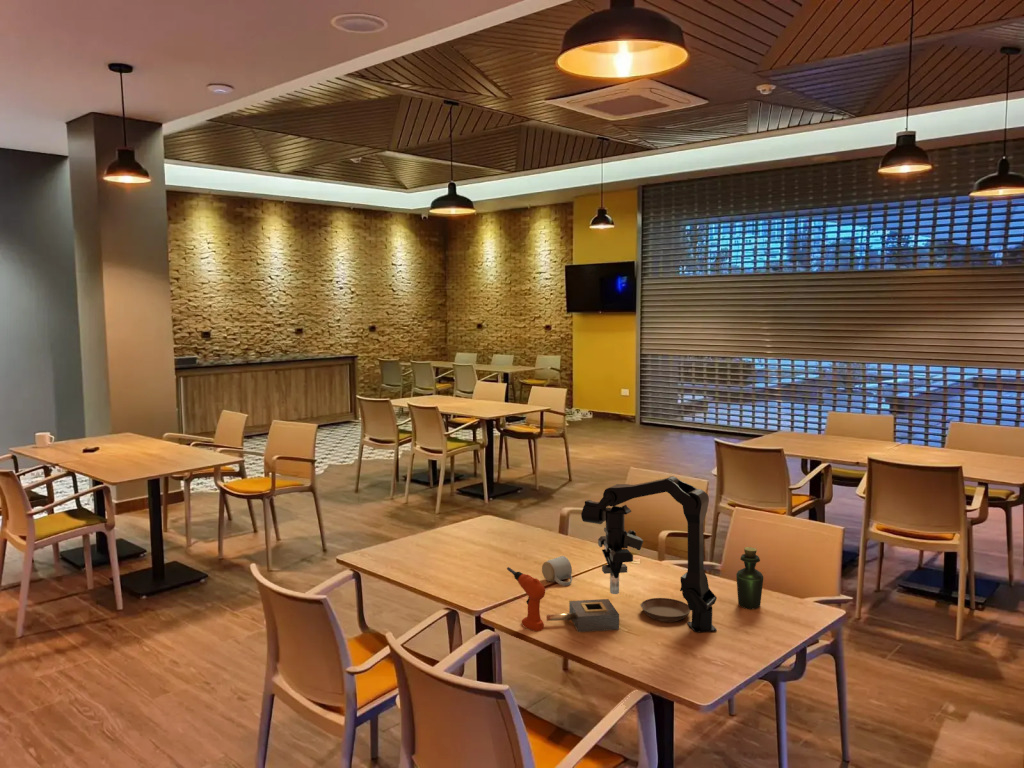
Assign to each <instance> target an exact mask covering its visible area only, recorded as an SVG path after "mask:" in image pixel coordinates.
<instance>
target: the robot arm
mask: <svg viewBox="0 0 1024 768" xmlns="http://www.w3.org/2000/svg"><path fill="white" fill-rule="evenodd" d="M662 493H668V494H669V495H670V496H671V497H672V498H673V499H674V500H675V501H676V502H677V503H679V504H680V505H682V511H683V514H684V518H685V519H686V522H687V572H685V573H684V574H683V575H682V576H680V585H681V586H680V589H679V591H680V592H682V597H683V599H685V601H686V604H687V605H688V606H689V609H690V610H691V621H687V623H686V624H687V625H688V627H690V629H692V630H693V632H695V633H704V632H705V633H706V632H707V633H708V632H717V628H716V627H715V626H714V625H713V605H714V604H715V603H716V601H717V596H716V594H714V592H713V591H712V590H711V588H710V586H709V581H708V576H707V574H706V572H705V569H704V568H705V567H704V566H705V565H704V561H705V557H704V554H705V553H704V552H705V551H704V536H705V535H704V532H705V531H704V530H705V529H704V523H705V518H706V516H707V512H708V507H709V503H710V498H709V495H708V493H706V491H704V489H700V488H697V487H694V486H693V485H691V484H689V483H688V482H684V481H682V480H680V479H679V478H677V477H675V476H669V477H666V478H662V479H660V478H659V479H658V480H657V479H656V480H651V481H646V482H642V483H638V484H636V483H635V484H629V483H622V484H621V483H620V484H615V485H612V486H609V487H607V488H605V489H604V491H603V493H602V498H601V499H600V501H593V500H592V499H591V500H590V499H587V500H585V501H584V505H583V507H582V511H581V515H580V516H581V520H582V522H584V523H589V524H597V525H602V524H603V523H604V522H605V527H604V528H603V532H604V533H605V535H602V536H599V538H598V539H597V545H598V546H599V548H602V547H603V546H604V549H601V552H602V554H603V556H604V559H605V561H606V565H610V566H611V569H612V572H613V575H614V577H615V578H618V576H619V577H620V574H621V573H620V570H621V566H622V564H624V563H633V562H634V555H633V553H632V552H631V551H630V550H628V548H629V547H630V548H632V549H636V550H637V551H641V549H642V547H643V543H644V539H643V538H641V537H639V536H638V535H637V533H636V531H635V530H632V529H629V530H628V531H627V530H625V525H626V524H625V515H626V516H627V515H629V514H631V512H632V510H631V509H630V507H629V506H627V504H624V505H622V506H618V505H621V504H623V503H626V502H627V501H630V500H633V499H637V498H641V497H646V496H652V495H657V494H662Z"/></svg>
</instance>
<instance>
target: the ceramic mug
mask: <svg viewBox="0 0 1024 768" xmlns="http://www.w3.org/2000/svg"><path fill="white" fill-rule="evenodd" d="M541 574H542V576H543V578H544V579H545V580H546V581H547V582H549V581H550V583H554V581H555V582H556V583H558V584H559V585H561V586H563V587H564V586H565V587H566V586H567V587H568V586H570V585H571V584H572V581H573V575H572V574H573V569H572V564H571V562H570V560H569V559H568V558H567V557H566V556H565V555H561V556H558V557H557V556H556V557H554V558H552V559H548V560H546V561H544V562H543V564H542V566H541ZM566 579H569V581H562V580H566Z"/></svg>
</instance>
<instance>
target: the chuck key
mask: <svg viewBox="0 0 1024 768" xmlns="http://www.w3.org/2000/svg"><path fill="white" fill-rule="evenodd" d="M601 571H602V573H603V574H609V593H610V594H612V595H618V594H619V593H620V575H619V576H618V578H615V577H614V575H613V572H612V569H611V566H610V565H608V564H602V565H601ZM622 573H623V574H624V573H628V566H627V565H626V564H625V563H623V564H622V566H621V570H620V573H619V574H622Z"/></svg>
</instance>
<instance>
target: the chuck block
mask: <svg viewBox="0 0 1024 768" xmlns="http://www.w3.org/2000/svg"><path fill="white" fill-rule="evenodd" d="M568 607H569V609H568V610H569V612H568V613H552V614H551V613H549V614H546V615H545V617H546V622H552V621H553V622H554V621H556V622H557V621H568V620H569V621H572V623H573V625H574V627H575V628H576V631H577V632H578V633H583V632H584V633H585V632H597V631H598V632H599V631H601V632H602V631H617V630H620V613H619V612H618V610H617V609H616V608H615V606H614V605H613V603H612V601H610V599H609V598H603V599H602V598H601V599H584V600H583V599H582V600H569V606H568Z"/></svg>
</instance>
